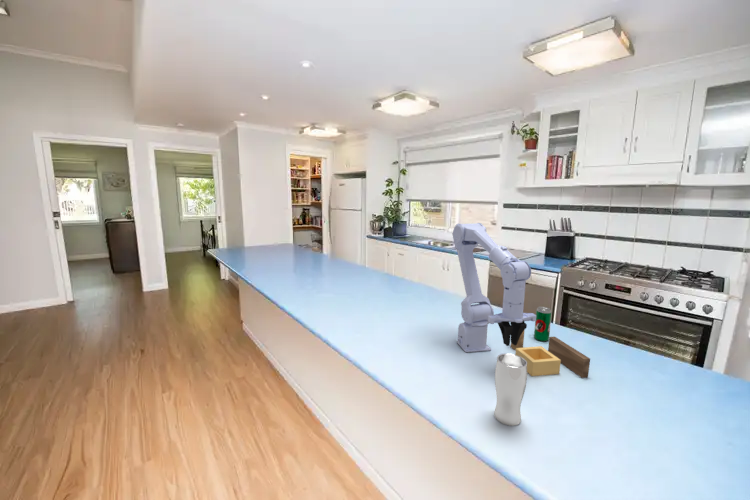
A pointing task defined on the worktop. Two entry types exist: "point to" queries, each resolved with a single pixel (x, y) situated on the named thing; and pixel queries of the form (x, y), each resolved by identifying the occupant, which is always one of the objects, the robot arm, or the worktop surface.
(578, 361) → the walnut wall
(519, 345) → the dowel
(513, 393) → the beer glass
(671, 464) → the worktop surface
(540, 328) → the soda can
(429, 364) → the worktop surface
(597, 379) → the worktop surface
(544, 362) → the socket block
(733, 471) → the worktop surface
